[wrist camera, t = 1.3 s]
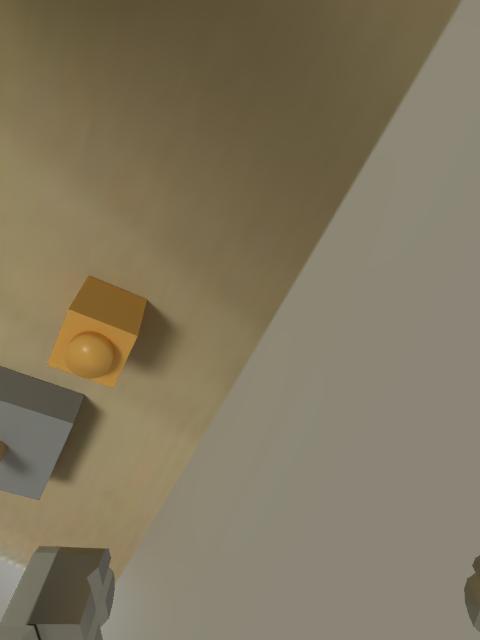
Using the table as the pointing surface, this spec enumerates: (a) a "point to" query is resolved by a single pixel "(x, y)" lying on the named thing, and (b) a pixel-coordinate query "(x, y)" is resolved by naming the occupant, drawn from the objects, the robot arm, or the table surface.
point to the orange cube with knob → (98, 332)
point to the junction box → (32, 430)
